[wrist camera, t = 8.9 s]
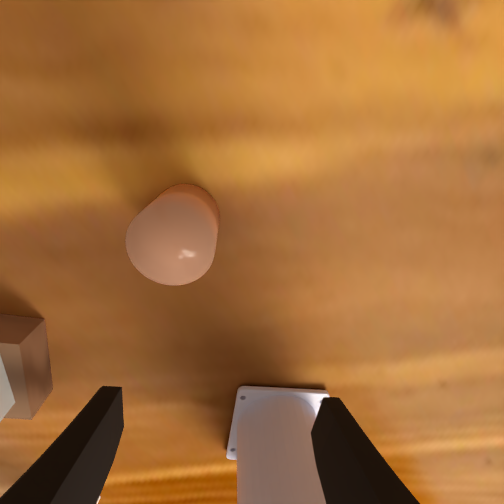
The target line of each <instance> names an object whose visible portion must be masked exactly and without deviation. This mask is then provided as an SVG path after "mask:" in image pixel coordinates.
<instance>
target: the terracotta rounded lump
mask: <svg viewBox="0 0 504 504" xmlns="http://www.w3.org/2000/svg"><path fill="white" fill-rule="evenodd" d="M219 221H220V214H219V209H218V206H217V204H216V202H215V200H214V199H213V197H212V196H211V195H210V194H209V193H208V192H207V191H205V190H204V189H202V188H200V187H198V186H195V185H191V184H178V185H175V186H172V187H170V188H168V189H166V190H165V191H164V192H163V193H162V194H160V195H159V196H158V197H157V198H156V199H155V200H154V201H153V202H151V203H150V204H149V205H148V206H147V207H146V208H145V209H143V210H142V211H141V212H140V213H139V214H138V215H137V216H136V217H135V218H134V219H133V220H132V222H131V223H130V225H129V227H128V229H127V233H126V240H125V244H126V250H127V254H128V256H129V259H130V260H131V262H132V264H133V265H134V266H135V268H136V269H137V270H138V271H139V272H140V273H142V274H143V275H144V276H145V277H147V278H149V279H151V280H152V281H155V282H157V283H161V284H165V285H184V284H188V283H191V282H193V281H195V280H197V279H199V278H200V277H201V276H203V275H204V274H205V273H206V272H207V270H208V269H209V268H210V266H211V264H212V262H213V259H214V255H215V248H216V241H217V235H218V228H219Z"/></svg>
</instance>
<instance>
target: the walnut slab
mask: <svg viewBox="0 0 504 504" xmlns="http://www.w3.org/2000/svg"><path fill="white" fill-rule="evenodd" d="M0 355H1V358H2V362H3V365H4V368H5V371H6V374H7V377H8V381H9V384H10V387H11V390H12V393H13V396H14V400H15V403H14V405H13V406H12V407H11V409H10V410H9V411H8V412H7V414H6V415H5V416H4V418H12V419H28V420H32V418H33V417H34V416H35V414H36V413H37V411H38V410H39V408H40V407H41V405H42V404H43V403H44V401H45V400H46V398H47V397H48V395H49V394H50V393H51V391H52V390H53V384H52V376H51V367H50V359H49V350H48V342H47V333H46V324H45V319H42V318H33V317H24V316H15V315H6V314H0Z"/></svg>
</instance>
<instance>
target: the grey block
mask: <svg viewBox="0 0 504 504" xmlns="http://www.w3.org/2000/svg"><path fill="white" fill-rule="evenodd" d="M14 403H15V400H14V396H13V393H12V390H11V387H10V384H9V381H8V377H7V374H6V371H5V368H4V365H3V362H2V358H1V355H0V421H1V420H2V419H3V418H4V416H5V415H6V414H7V412H8V411H9V410H10V409H11V407H12V406H13V405H14Z"/></svg>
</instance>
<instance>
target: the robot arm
mask: <svg viewBox="0 0 504 504" xmlns="http://www.w3.org/2000/svg"><path fill="white" fill-rule="evenodd" d="M123 428H124V420H123V402H122V387H111V386H102V387H101V388H100V389H99V390H98V391H97V392H96V394H95V395H94V396H93V397H92V399H91V400H90V401H89V402H88V403H87V405H86V406H85V407H84V408H83V409H82V411H81V412H80V413H79V414H78V415H77V416H76V418H75V419H74V420H73V421H72V422H71V423H70V424H69V426H68V427H67V428H66V429H65V430H64V431H63V432H62V433H61V435H60V436H59V437H58V438H57V439H56V440H55V441H54V442H53V443H52V444H51V446H50V447H49V448H48V449H47V450H46V451H45V452H44V453H43V454H42V455H41V456H40V458H39V459H38V460H37V461H36V462H35V463H34V464H33V465H32V466H31V467H30V468H29V469H28V470H27V471H26V472H25V473H24V474H23V475H22V476H21V477H20V478H19V479H18V480H17V481H16V482H15V483H14V484H13V485H12V486H11V487H10V488H9V489H8V490H7V492H6V493H4V494H3V495H2V496H1V497H0V504H96V503H97V501H98V498H99V496H100V494H101V491H102V489H103V486H104V484H105V481H106V479H107V476H108V474H109V471H110V469H111V466H112V464H113V461H114V458H115V454H116V451H117V448H118V445H119V441H120V438H121V435H122V431H123ZM226 457H227V458H228V459H234V460H237V504H420V503H419V502H418V501H417V500H416V498H415V497H414V496H413V495H412V494H411V492H410V491H409V490H408V489H407V487H406V486H405V485H404V484H403V483H402V481H401V480H400V479H399V478H398V476H397V475H396V474H395V473H394V471H393V470H392V469H391V468H390V466H389V465H388V464H387V462H386V461H385V460H384V458H383V457H382V456H381V454H380V453H379V452H378V450H377V449H376V448H375V447H374V445H373V444H372V442H371V441H370V440H369V438H368V437H367V436H366V434H365V433H364V432H363V430H362V429H361V427H360V426H359V425H358V423H357V422H356V420H355V419H354V418H353V416H352V415H351V413H350V412H349V411H348V409H347V408H346V406H345V405H344V404H343V402H342V401H341V400H340V398H335V397H329V393H328V391H326V390H314V389H295V388H276V387H257V386H241V387H239V388H238V390H237V396H236V401H235V407H234V413H233V418H232V424H231V429H230V435H229V441H228V446H227V452H226Z"/></svg>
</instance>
